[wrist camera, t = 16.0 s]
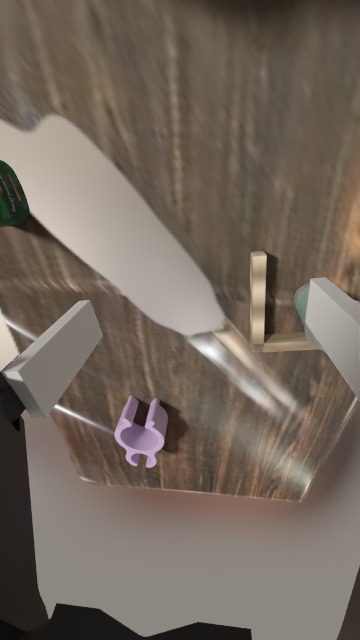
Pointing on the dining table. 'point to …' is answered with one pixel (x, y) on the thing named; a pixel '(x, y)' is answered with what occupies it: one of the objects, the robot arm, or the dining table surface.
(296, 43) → the dining table surface
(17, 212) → the coffee jar
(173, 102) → the dining table surface
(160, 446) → the clip
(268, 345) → the u rest
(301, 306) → the coffee cup
